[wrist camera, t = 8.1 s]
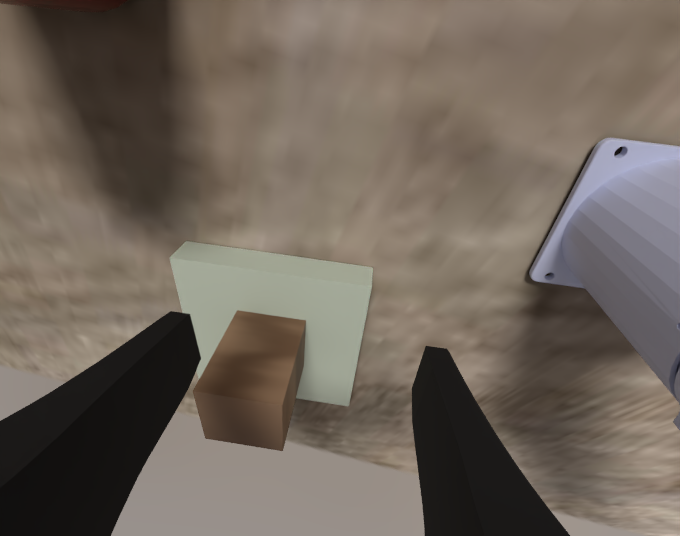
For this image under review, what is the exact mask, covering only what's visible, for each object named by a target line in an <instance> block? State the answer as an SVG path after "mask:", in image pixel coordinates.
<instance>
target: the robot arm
mask: <svg viewBox="0 0 680 536" xmlns="http://www.w3.org/2000/svg"><path fill="white" fill-rule="evenodd" d="M620 147H623V148H622V151H621V152H620V153H619V154H618V155H616V156H614V153H615V151H616V150H617V149H618V148H620ZM548 273H551V274H550V275H548V276H545V275H546V274H548ZM529 275H530V277H531V279H532V280H534V281H536V282H543V283H550V284H557V285H565V286H572V287H579V288H585V289H586V290H587V291H588V292H589V294H590V295H591V296H592V297H593V298H594V300H595V301H596V302H597V303H598V305H599V306H600V307H601V308H602V309H603V311H604V312H605V313H606V314H607V316H608V317H609V318H610V319H611V320H612V322H613V323H614V324H615V325H616V326H617V328H618V329H619V330H620V331H621V333H622V334H623V335H624V336H625V337H626V339H627V340H628V341H629V342H630V344H631V345H632V346H633V347H634V348H635V350H636V351H637V352H638V353H639V355H640V356H641V357H642V358H643V359H644V361H645V362H646V363H647V364H648V366H649V367H650V368H651V369H652V370H653V372H654V373H655V374H656V375H657V376H658V378H659V379H660V380H661V381H662V383H663V384H664V385H665V386H666V387H667V389H668V390H669V391H670V392H671V394H672V395H673V396H674V397H675V398H676V400H677V401H678V402H679V405H680V146H674V145H666V144H658V143H650V142H642V141H634V140H626V139H618V138H606V139H603V140H601V141H600V142H599V143H597V145H596V146H595V147H594V149H593V151H592V153H591V155H590V157H589V159H588V161H587V162H586V164H585V166H584V168H583V170H582V172H581V174H580V176H579V178H578V180H577V182H576V183H575V185H574V187H573V189H572V191H571V193H570V195H569V197H568V199H567V201H566V202H565V204H564V206H563V208H562V210H561V212H560V214H559V216H558V218H557V220H556V222H555V223H554V225H553V227H552V229H551V231H550V233H549V235H548V237H547V239H546V241H545V242H544V244H543V246H542V248H541V250H540V252H539V254H538V256H537V258H536V260H535V262H534V263H533V265H532V267H531V269H530V272H529ZM200 360H201V356H200V352H199V348H198V344H197V340H196V336H195V332H194V328H193V324H192V320H191V316H190V314H187V313H180V312H172V311H171V312H169V313H168V314H166V315H165V316H163V317H162V318H160V319H159V320H157V321H156V322H155V323H153V324H152V325H150V326H149V327H147V328H146V329H145V330H143V331H142V332H140V333H139V334H138V335H136V336H135V337H133V338H132V339H131V340H129V341H128V342H126V343H125V344H123V345H122V346H120V347H119V348H118V349H116V350H115V351H113V352H112V353H110V354H109V355H107V356H106V357H105V358H103V359H102V360H100V361H99V362H97V363H96V364H94V365H93V366H91V367H89V368H88V369H86V370H85V371H83V372H82V373H80V374H79V375H77V376H75V377H74V378H72V379H71V380H69V381H68V382H66V383H65V384H63V385H61V386H60V387H58V388H57V389H55V390H53V391H52V392H50V393H49V394H47V395H45V396H44V397H42V398H40V399H39V400H37V401H35V402H33V403H32V404H30V405H28V406H26V407H25V408H23V409H21V410H19V411H17V412H16V413H14V414H12V415H10V416H9V417H7V418H5V419H3V420H1V421H0V536H111V533H112V531H113V529H114V527H115V524H116V522H117V520H118V518H119V515H120V513H121V511H122V509H123V507H124V505H125V503H126V501H127V498H128V496H129V494H130V492H131V490H132V488H133V486H134V484H135V482H136V480H137V477H138V475H139V474H140V472H141V470H142V468H143V466H144V465H145V463H146V461H147V459H148V457H149V456H150V454H151V452H152V451H153V449H154V447H155V445H156V444H157V442H158V440H159V438H160V437H161V435H162V433H163V432H164V430H165V428H166V427H167V425H168V423H169V421H170V420H171V418H172V416H173V415H174V413H175V411H176V409H177V408H178V406H179V404H180V402H181V401H182V399H183V397H184V395H185V394H186V392H187V390H188V388H189V386H190V383H191V381H192V379H193V377H194V374H195V372H196V370H197V367H198V365H199V362H200ZM673 422H674V424H675V425H676V426H677V428H678V429H679V430H680V412H679V414H678V416H677V417H676V418H675V419H674V421H673ZM412 423H413V432H414V440H415V448H416V456H417V464H418V472H419V480H420V488H421V496H422V504H423V515H424V527H425V536H570V535H569V534H568V532H567V531H566V530H565V529H564V527H563V526H562V525H561V524H560V522H559V521H558V520H557V518H556V517H555V516H554V515H553V514H552V512H551V511H550V510H549V508H548V507H547V506H546V504H545V503H544V502H543V500H542V499H541V498H540V496H539V495H538V494H537V492H536V491H535V490H534V488H533V487H532V486H531V484H530V483H529V482H528V480H527V479H526V477H525V476H524V475H523V473H522V472H521V470H520V469H519V468H518V466H517V465H516V463H515V462H514V460H513V459H512V457H511V456H510V454H509V453H508V451H507V450H506V448H505V447H504V445H503V444H502V442H501V441H500V439H499V438H498V436H497V435H496V433H495V432H494V430H493V428H492V427H491V425H490V424H489V422H488V420H487V419H486V417H485V415H484V414H483V412H482V410H481V409H480V407H479V405H478V404H477V402H476V400H475V399H474V397H473V395H472V393H471V392H470V390H469V388H468V386H467V384H466V383H465V381H464V379H463V377H462V375H461V374H460V372H459V370H458V368H457V366H456V364H455V362H454V360H453V358H452V356H451V354H450V352H449V351H448V350H447V349H444V348H437V347H430V346H426V347H425V350H424V353H423V356H422V359H421V362H420V365H419V369H418V372H417V375H416V378H415V381H414V384H413V387H412Z"/></svg>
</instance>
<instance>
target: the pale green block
mask: <svg viewBox="0 0 680 536" xmlns="http://www.w3.org/2000/svg"><path fill="white" fill-rule="evenodd" d="M170 262H171V266H172V270H173V274H174V279H175V283H176V287H177V291H178V295H179V299H180V303H181V308H182V312H183V313H187V314H190V316H191V320H192V324H193V328H194V332H195V336H196V340H197V344H198V348H199V352H200V356H201V360H200V362H199V365H198V367H197V374H198V378H199V379H200V377H201V375H202V374H203V372H204V370H205V368H206V366H207V364H208V363H209V361H210V359H211V357H212V355H213V353H214V352H215V350H216V348H217V346H218V344H219V342H220V341H221V339H222V337H223V335H224V333H225V332H226V330H227V328H228V326H229V324H230V322H231V321H232V319H233V317H234V315H235V313H236V311H237V310H239V311H246V312H253V313H259V314H266V315H273V316H280V317H286V318H293V319H300V320H306V332H305V352H304V367H303V371H302V375H301V379H300V383H299V387H298V391H297V395H296V398H298V399H304V400H310V401H317V402H323V403H329V404H336V405H342V406H349V403H350V398H351V392H352V387H353V382H354V377H355V372H356V366H357V361H358V356H359V351H360V346H361V341H362V335H363V330H364V325H365V320H366V315H367V310H368V304H369V299H370V294H371V289H372V274H373V267H367V266H360V265H353V264H346V263H339V262H332V261H325V260H317V259H310V258H303V257H296V256H289V255H282V254H275V253H268V252H261V251H254V250H247V249H240V248H233V247H226V246H219V245H212V244H205V243H198V242H191V241H186V242H185V243H184V244H183V245H182V246H181V247H180V248H179V249H178V250H177V251H176V252H175V253H174V254H173V255H172V256H171V257H170Z"/></svg>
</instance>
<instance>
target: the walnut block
mask: <svg viewBox="0 0 680 536" xmlns="http://www.w3.org/2000/svg"><path fill="white" fill-rule="evenodd" d="M305 332H306V320H300V319H293V318H286V317H280V316H273V315H266V314H259V313H253V312H246V311H239V310H237V311H236V313H235V315H234V317H233V319H232V321H231V322H230V324H229V326H228V328H227V330H226V332H225V333H224V335H223V337H222V339H221V341H220V342H219V344H218V346H217V348H216V350H215V352H214V353H213V355H212V357H211V359H210V361H209V363H208V364H207V366H206V368H205V370H204V372H203V374H202V375H201V377H200V379H199V381H198V383H197V384H196V386H195V388H194V390H193V394H194V398H195V401H196V405H197V409H198V413H199V416H200V420H201V423H202V427H203V431H204V435H205V438H206V439H213V440H218V441H224V442H231V443H237V444H243V445H249V446H255V447H261V448H267V449H274V450H280V451H283V448H284V444H285V440H286V436H287V432H288V428H289V424H290V420H291V415H292V411H293V407H294V403H295V399H296V395H297V391H298V387H299V383H300V379H301V375H302V371H303V367H304V352H305Z"/></svg>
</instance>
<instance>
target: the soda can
mask: <svg viewBox="0 0 680 536" xmlns="http://www.w3.org/2000/svg"><path fill="white" fill-rule="evenodd" d="M126 1H128V0H0V3H1V4H11V5H21V6H30V7H40V8H50V9H60V10H69V11H79V12H104V11H108V10H111V9H114V8H117V7H119V6H120V5H122V4H123V3H125V2H126Z"/></svg>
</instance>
